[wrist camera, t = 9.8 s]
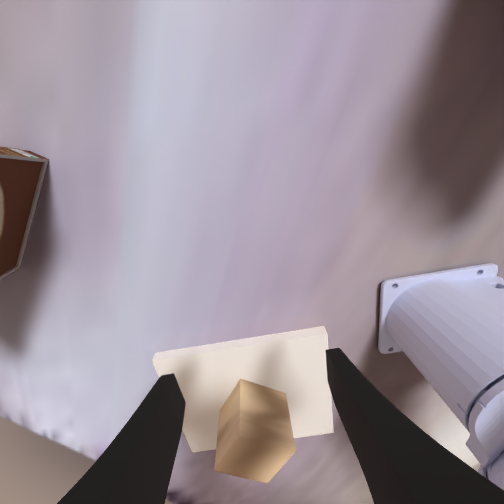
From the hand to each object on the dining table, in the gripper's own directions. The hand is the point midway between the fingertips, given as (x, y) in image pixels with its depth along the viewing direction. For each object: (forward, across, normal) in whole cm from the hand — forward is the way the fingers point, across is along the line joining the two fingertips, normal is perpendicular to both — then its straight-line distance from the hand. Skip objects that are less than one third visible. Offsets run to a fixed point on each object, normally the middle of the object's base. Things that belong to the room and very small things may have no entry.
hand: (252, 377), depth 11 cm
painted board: (+9, +2, +13) cm, 16 cm away
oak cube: (+8, +2, +13) cm, 16 cm away
